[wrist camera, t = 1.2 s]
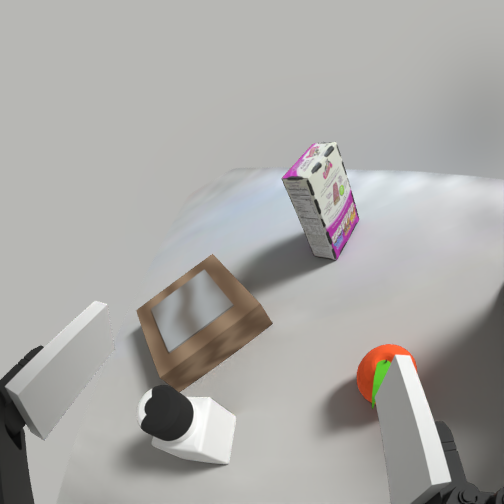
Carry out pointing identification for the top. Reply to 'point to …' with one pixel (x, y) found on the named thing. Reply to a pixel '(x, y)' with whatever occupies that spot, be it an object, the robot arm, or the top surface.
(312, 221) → the candy bar box
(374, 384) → the clementine
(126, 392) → the top surface
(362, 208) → the top surface
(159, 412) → the medicine bottle
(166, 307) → the walnut base
